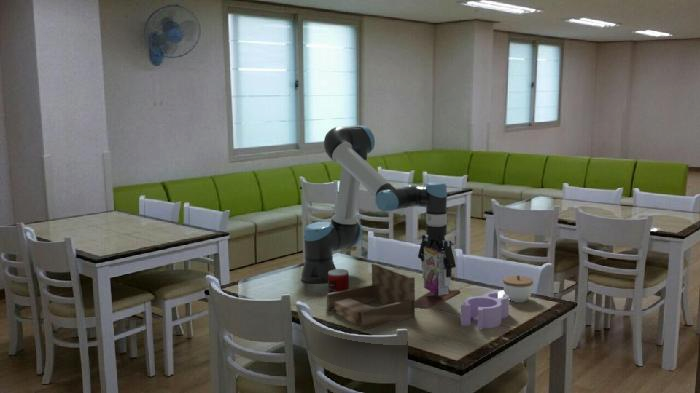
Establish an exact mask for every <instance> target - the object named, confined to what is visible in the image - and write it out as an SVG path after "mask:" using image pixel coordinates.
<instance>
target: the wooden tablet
mask: <svg viewBox="0 0 700 393" xmlns="http://www.w3.org/2000/svg"><path fill="white" fill-rule="evenodd" d="M460 293H461V290H459V289H450V288H449V294H447V295H442V296H438V295H436V294H434V293H433V292H431V291H428V292H426V293H425V294H423V295H421V296H420V297H418V298H417V299H415V309H420V310H421V309H422V310H429V309H432V308H434V307H436V306H438V305H440V304H441V303H443V302H445V301H447V300H449V299H450V298H453V297H455V296H457V295H458V294H460Z"/></svg>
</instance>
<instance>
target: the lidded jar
mask: <svg viewBox="0 0 700 393" xmlns="http://www.w3.org/2000/svg"><path fill="white" fill-rule="evenodd" d="M502 282H503V292H504V294H507V295H508V296H509V299H510V300H511V302H512V301H514V302H513V303H525V302H527V300H528V299H529V298H530V297H531V295H532V294H533V293H532V292H533V287H534V280H533V279H532V278H531V277H527V276H524V275H519V274H517V275H508V276H506V277H504V278H503V281H502ZM510 300H509V301H510ZM524 301H525V302H524Z"/></svg>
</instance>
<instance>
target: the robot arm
mask: <svg viewBox="0 0 700 393" xmlns="http://www.w3.org/2000/svg"><path fill="white" fill-rule="evenodd" d="M375 145H376V141H375V135H374V134H373V132H372V130H371V129H370V128H369V127H368V126H366V125H358V124H356V125H346V126H336V127H333V128H331V129H330V130H328V132H327V133H326V134H325V136H324V140H323V146H324V147H323V149H324V151H325V153H326V155H327V156H328V158H330V160H332V161H333V162H334V163H335V164H339V165H340V166H341V167H340V177H339V183H338V184H339V186H338V192H337V193H338V194H337V202H336V208H335V214H333V215H332V216H331V221H316V222H313V223H309V224H308V225H306V226H305V228H304V230H303V234H304V235H303V239H304V263H303V268H302V271H301V280H302V281H303V282H305V283H310V284H324V283H325V284H326V283H327V284H328V272H329V271H331V270H334V269H337V267H336V266H335V262H334V260H333V258H334V257H333V252H337V251H340V250H341V251H342V250H344V249H345V250H346V249H351V248H353V247H355V246H357V245H358V244H359V243H361V240H362V239H363V229H362V225H361V223H360V222H359V218H358V217H357V216H356V215H357V210H358V209H357V208H358V203H359V202H358V200H359V194H360V187H361V186H360V185H362V186H363V187H364V188H365V189H366V190H367V191H368V192H369V194H371V195H372V196H373V197H374V199H375V201H374V202H375V205H376V206H377V208H378V209H379V210H380V211H382V212H392V211H396V210H401V209H407V208H410V207H424V208H425V215H426V216H425V220H426V222H425V223H426V226H425V234H424V235H422V236H421V243H420V247H419V250H418V254H417V257H418V259H420V261H421V269H422V271H421V272H422V279H424V246H426V247H427V248H432V249H435V250H437V251H439V252H442V251H445V254H446V258H443V263H444V266H445V268H444V286H448V285H449V286H451V284H452V281H451V280H452V279H451V278H452V269H454V268H456V267H457V265H456V261H455V257H454V253H453V249H452V241H451V240H446V239H445V238H446V235H447V232H448V231H447V223H448V222H447V221H448V220H447V219H448V217H447V216H448V215H447V212H448V211H447V203H448V193H447V192H448V191H447V188H448V187H447V184H446V183H444V182H442V181H439V182H438V181H431V182H430V181H429V182H427V183H426V185H425V186H421V185H415V184H404V185H403V186H402V187H399V188H396V187H394V186H393V184H391V183H390V182H389V181H388V180H387V179H386V178H384V176H382V174H380V173H379V172H378V171H377V170H376V169H375V168H374V167H373V166H371V164H370V163H369V162H367V160H368V154H369V153H371V152H372V151H373V150H374V149H375Z"/></svg>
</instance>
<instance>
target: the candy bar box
mask: <svg viewBox="0 0 700 393" xmlns="http://www.w3.org/2000/svg"><path fill="white" fill-rule="evenodd" d="M443 258H446V254H445V251H442V252H439V251H437V250H435V249H432V248H427V247H426V246H424V278H423V288H425V289H426V290H428V292H430V291H431V292H433V293H434V294H436V295H438V296H442V295H447V294H449V289H450V285H448V286H444V268H445V266H444V263H443Z"/></svg>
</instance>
